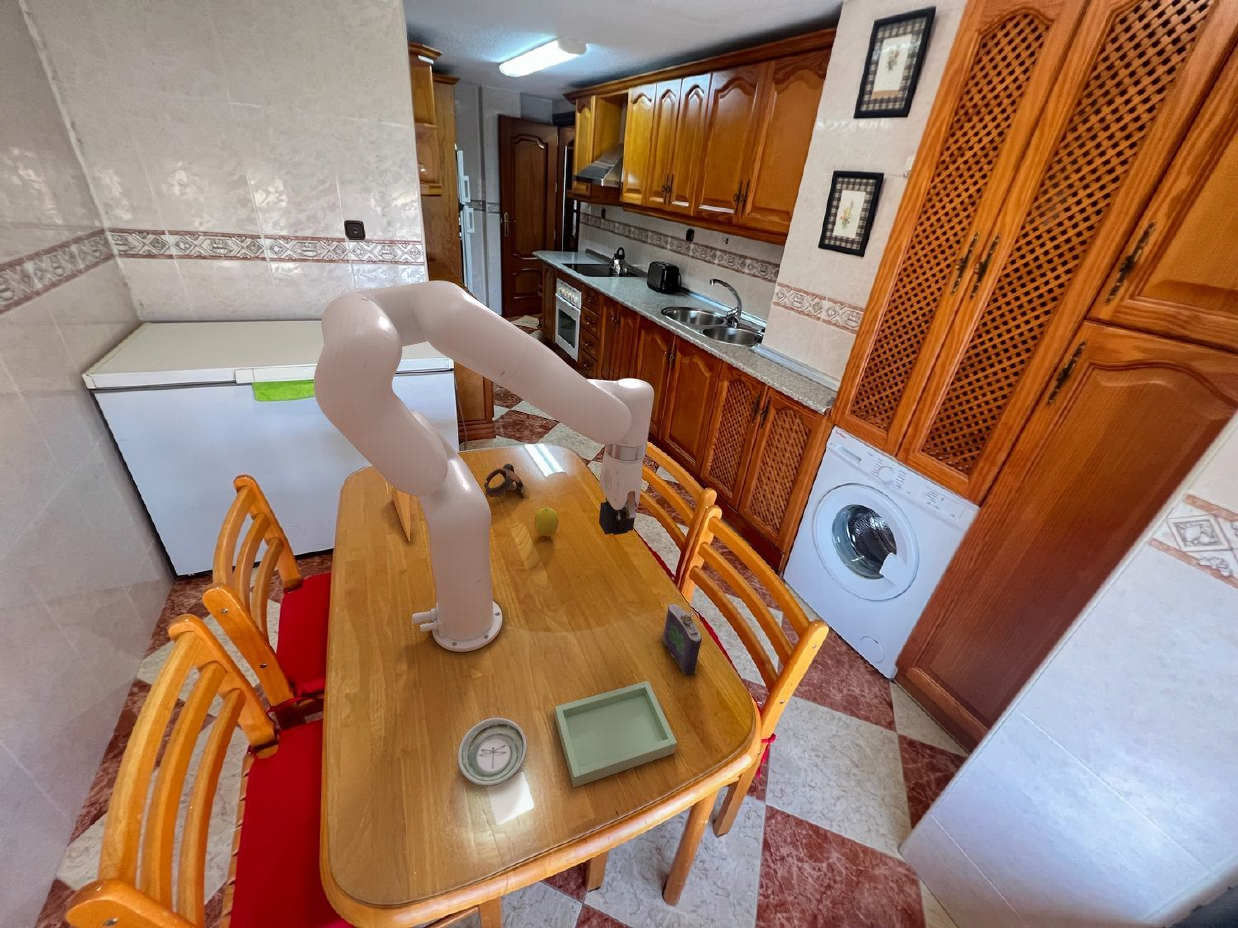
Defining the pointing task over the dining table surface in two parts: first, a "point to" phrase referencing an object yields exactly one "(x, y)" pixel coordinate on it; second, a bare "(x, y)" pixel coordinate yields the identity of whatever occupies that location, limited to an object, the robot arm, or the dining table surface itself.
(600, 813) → the dining table surface
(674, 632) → the flask
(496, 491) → the brown curved loop piece
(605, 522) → the black rectangular block
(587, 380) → the robot arm
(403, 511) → the carrot
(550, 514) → the lemon
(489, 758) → the saucer
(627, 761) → the green rectangular tray
